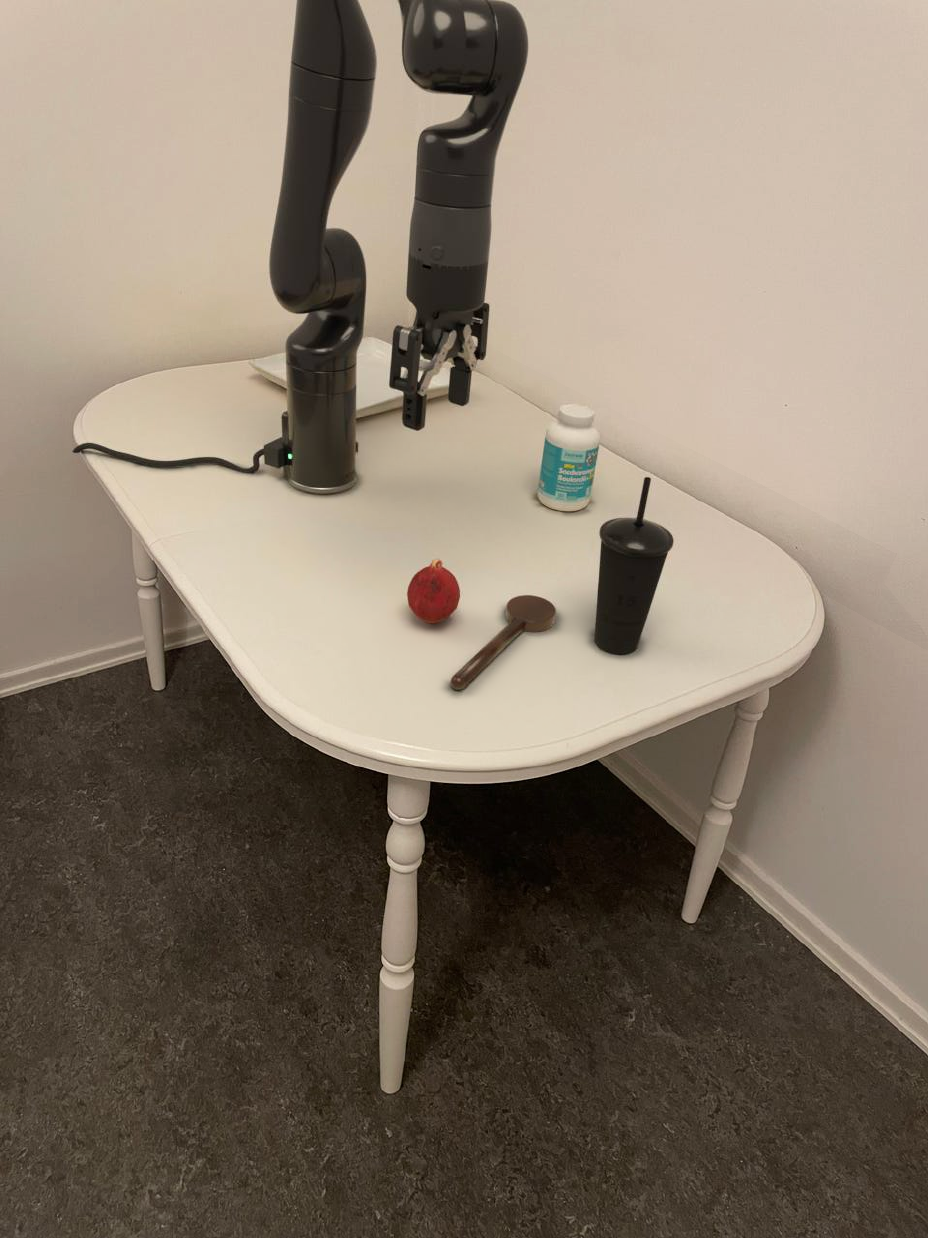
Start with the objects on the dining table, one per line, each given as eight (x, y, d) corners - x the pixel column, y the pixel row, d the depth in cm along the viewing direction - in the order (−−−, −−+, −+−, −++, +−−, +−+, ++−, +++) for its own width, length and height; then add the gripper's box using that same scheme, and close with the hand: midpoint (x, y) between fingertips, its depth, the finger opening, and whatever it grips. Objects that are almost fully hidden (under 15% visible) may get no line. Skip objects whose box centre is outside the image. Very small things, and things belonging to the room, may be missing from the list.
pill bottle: (554, 517, 131) (567, 423, 124) (526, 494, 136) (538, 403, 129) (599, 508, 134) (615, 417, 127) (571, 486, 139) (584, 397, 132)
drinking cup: (575, 622, 110) (602, 461, 98) (640, 623, 110) (674, 463, 99) (588, 662, 103) (618, 494, 92) (657, 663, 104) (695, 496, 93)
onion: (452, 641, 105) (457, 578, 100) (400, 632, 105) (403, 570, 101) (461, 612, 110) (466, 551, 105) (411, 605, 110) (415, 544, 106)
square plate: (246, 380, 165) (245, 358, 163) (371, 353, 181) (372, 333, 179) (341, 433, 149) (341, 409, 147) (469, 398, 166) (471, 377, 163)
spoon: (430, 682, 98) (431, 669, 97) (519, 599, 113) (521, 588, 112) (477, 702, 96) (479, 689, 95) (562, 615, 111) (564, 604, 110)
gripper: (454, 231, 96) (442, 387, 105) (371, 255, 86) (365, 425, 95) (520, 247, 93) (501, 405, 102) (442, 274, 83) (429, 447, 92)
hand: (436, 415), depth 99 cm, fingers open, 8 cm apart
